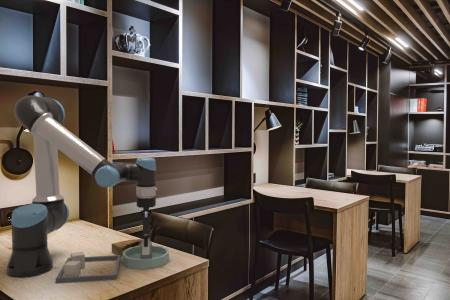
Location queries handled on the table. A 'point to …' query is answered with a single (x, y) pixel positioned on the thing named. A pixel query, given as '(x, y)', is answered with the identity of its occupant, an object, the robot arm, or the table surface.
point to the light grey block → (72, 269)
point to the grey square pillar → (149, 252)
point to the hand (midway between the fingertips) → (145, 249)
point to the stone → (124, 246)
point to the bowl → (133, 259)
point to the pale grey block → (78, 258)
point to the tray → (91, 277)
